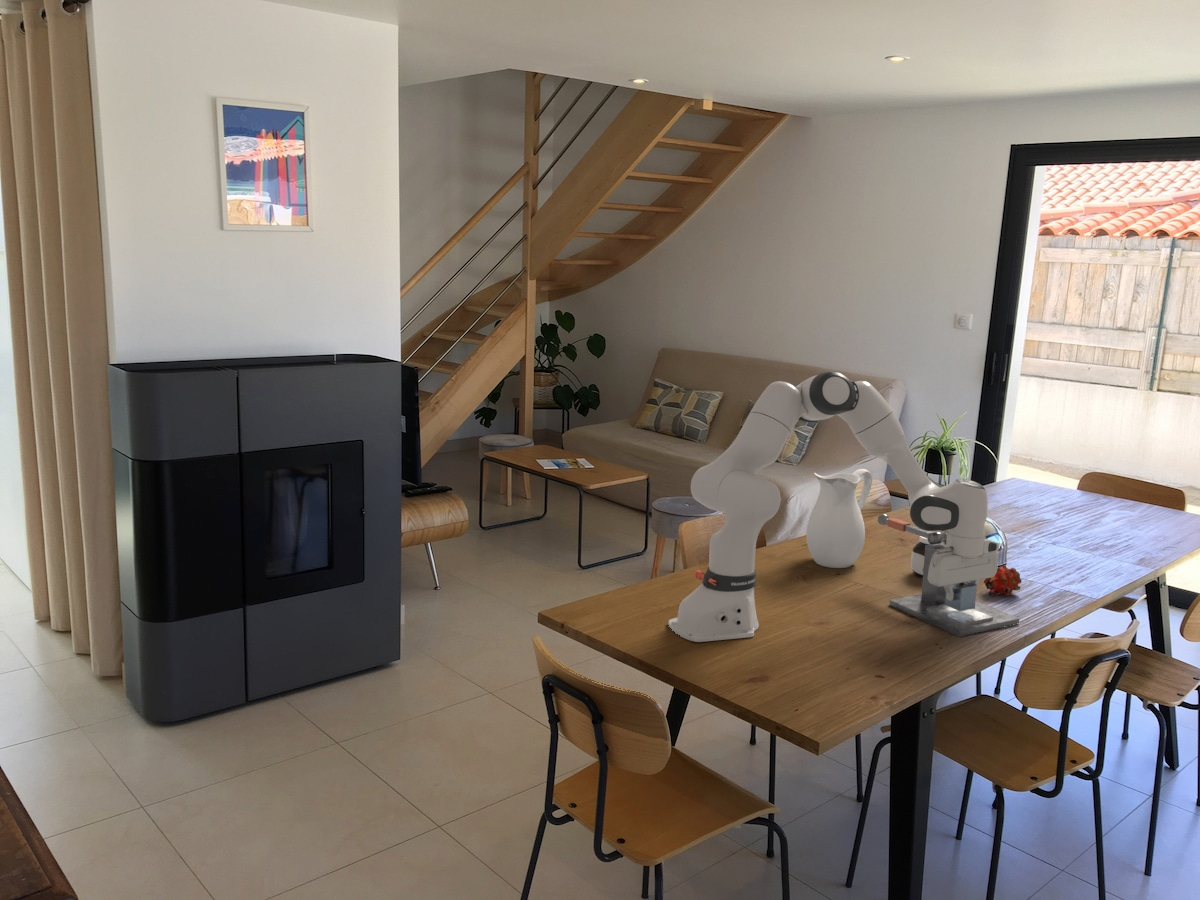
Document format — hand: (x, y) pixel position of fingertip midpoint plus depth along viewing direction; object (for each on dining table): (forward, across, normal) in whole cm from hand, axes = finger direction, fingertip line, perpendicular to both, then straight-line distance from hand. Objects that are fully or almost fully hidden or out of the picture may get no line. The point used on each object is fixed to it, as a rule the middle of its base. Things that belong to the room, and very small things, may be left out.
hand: (960, 597), depth 238 cm
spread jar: (+6, +22, +30) cm, 38 cm away
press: (+6, +2, +4) cm, 8 cm away
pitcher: (+6, +6, +52) cm, 53 cm away
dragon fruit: (+6, +26, +10) cm, 29 cm away
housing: (+2, 0, 0) cm, 2 cm away
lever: (-11, +2, +21) cm, 24 cm away
